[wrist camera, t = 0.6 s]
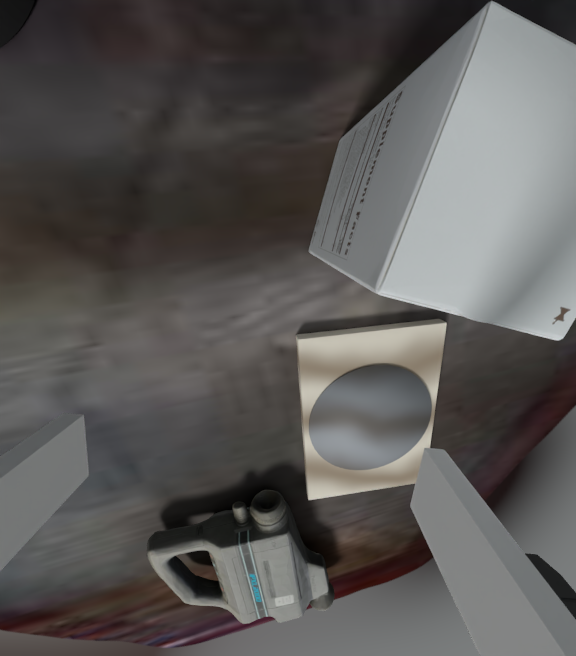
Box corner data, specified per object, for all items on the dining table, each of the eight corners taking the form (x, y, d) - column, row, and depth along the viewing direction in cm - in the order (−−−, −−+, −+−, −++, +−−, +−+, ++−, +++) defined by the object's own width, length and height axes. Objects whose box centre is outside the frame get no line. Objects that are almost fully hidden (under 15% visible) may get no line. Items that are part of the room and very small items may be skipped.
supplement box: (442, 172, 23) (722, 105, 9) (399, 279, 26) (566, 349, 12) (339, 132, 22) (498, -22, 8) (304, 252, 24) (375, 298, 10)
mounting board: (295, 334, 27) (298, 340, 26) (439, 318, 28) (448, 323, 27) (306, 491, 34) (308, 501, 33) (419, 473, 35) (426, 483, 34)
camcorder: (275, 468, 33) (278, 511, 28) (335, 567, 40) (346, 615, 35) (146, 521, 34) (127, 572, 29) (229, 609, 41) (225, 662, 36)
